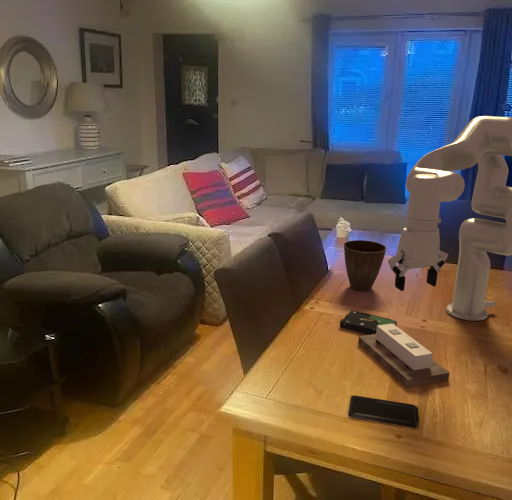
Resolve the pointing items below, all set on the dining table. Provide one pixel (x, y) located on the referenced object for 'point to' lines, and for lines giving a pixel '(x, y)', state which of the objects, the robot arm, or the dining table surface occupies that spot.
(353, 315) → the disk drive
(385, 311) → the dining table surface
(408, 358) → the power strip
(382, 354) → the slot board
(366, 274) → the plant pot
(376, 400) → the phone
